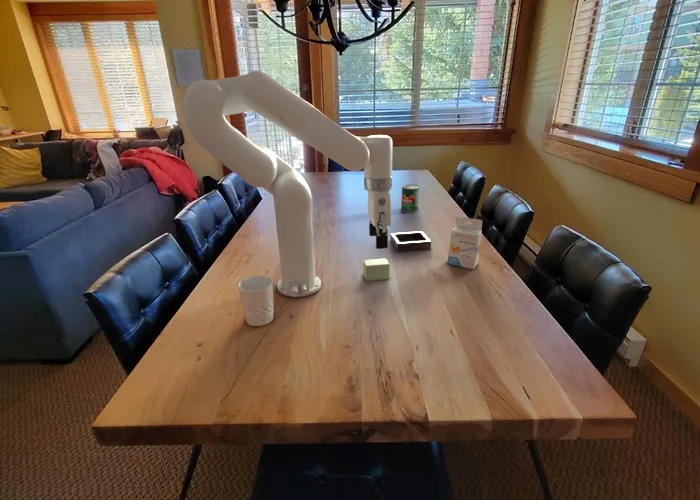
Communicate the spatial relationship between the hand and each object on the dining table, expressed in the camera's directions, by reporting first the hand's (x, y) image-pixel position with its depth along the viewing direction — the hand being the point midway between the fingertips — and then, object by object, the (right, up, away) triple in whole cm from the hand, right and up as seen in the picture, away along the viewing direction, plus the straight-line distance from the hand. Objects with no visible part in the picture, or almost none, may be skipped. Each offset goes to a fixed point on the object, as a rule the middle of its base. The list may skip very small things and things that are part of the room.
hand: (378, 241), depth 108 cm
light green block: (0, -11, +4) cm, 11 cm away
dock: (+13, -1, +27) cm, 30 cm away
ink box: (+28, -7, +12) cm, 31 cm away
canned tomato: (+20, +16, +65) cm, 70 cm away
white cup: (-30, -20, -15) cm, 39 cm away
